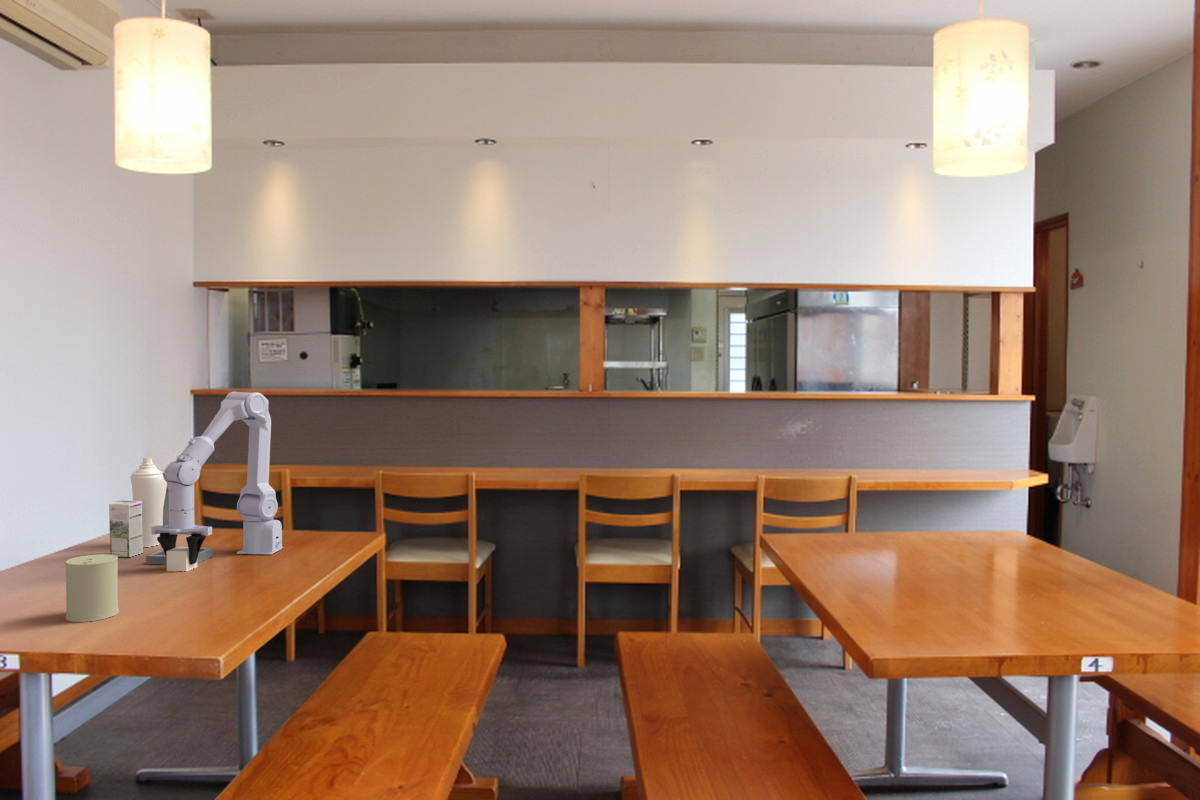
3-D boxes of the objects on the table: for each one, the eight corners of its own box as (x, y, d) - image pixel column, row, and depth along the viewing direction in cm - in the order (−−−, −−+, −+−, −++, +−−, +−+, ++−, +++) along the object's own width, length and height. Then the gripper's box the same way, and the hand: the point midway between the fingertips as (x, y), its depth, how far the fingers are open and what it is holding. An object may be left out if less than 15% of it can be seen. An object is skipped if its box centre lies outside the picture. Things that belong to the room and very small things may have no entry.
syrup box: (143, 553, 222) (143, 500, 221) (129, 558, 216) (128, 503, 215) (123, 552, 222) (123, 499, 222) (108, 557, 217) (108, 503, 216)
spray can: (175, 541, 237) (174, 455, 236) (160, 549, 227) (160, 459, 226) (132, 542, 236) (131, 455, 235) (115, 550, 225) (114, 459, 224)
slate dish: (212, 556, 219) (212, 548, 219) (191, 565, 209) (191, 557, 209) (168, 555, 220) (168, 547, 220) (146, 564, 210) (146, 555, 210)
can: (61, 624, 161) (60, 563, 160) (70, 611, 169) (69, 553, 169) (115, 619, 165) (114, 559, 164) (121, 606, 173) (121, 550, 173)
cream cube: (197, 566, 208) (197, 547, 208) (186, 571, 203) (186, 551, 203) (178, 566, 208) (178, 546, 208) (166, 571, 203) (166, 551, 203)
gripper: (143, 511, 201) (144, 566, 202) (201, 512, 201) (201, 567, 201) (160, 506, 208) (161, 559, 209) (216, 507, 208) (216, 561, 208)
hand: (182, 563), depth 206 cm, fingers closed on cream cube, 5 cm apart
